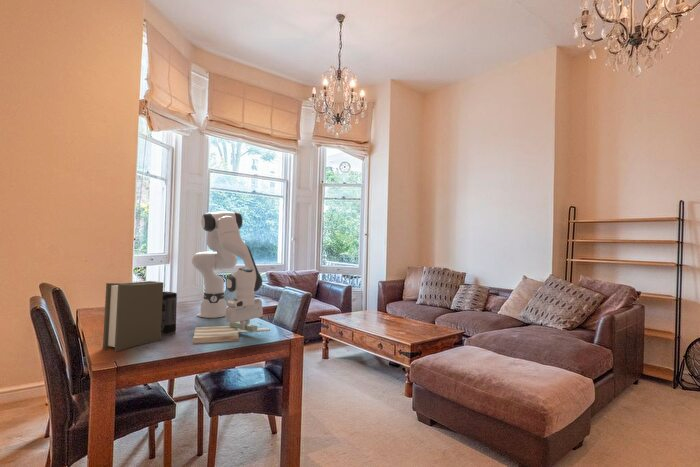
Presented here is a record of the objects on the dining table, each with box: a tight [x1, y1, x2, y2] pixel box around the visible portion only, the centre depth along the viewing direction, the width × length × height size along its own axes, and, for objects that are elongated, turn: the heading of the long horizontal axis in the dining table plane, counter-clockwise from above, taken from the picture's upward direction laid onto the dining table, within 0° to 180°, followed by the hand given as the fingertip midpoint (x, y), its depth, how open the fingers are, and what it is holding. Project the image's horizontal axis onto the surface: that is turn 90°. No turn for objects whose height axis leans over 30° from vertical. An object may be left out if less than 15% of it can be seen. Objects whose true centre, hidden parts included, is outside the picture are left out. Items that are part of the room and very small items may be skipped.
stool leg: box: [229, 321, 258, 333], centre depth 191 cm, size 18×3×3 cm, turn 53°
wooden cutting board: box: [192, 325, 271, 344], centre depth 188 cm, size 20×36×2 cm, turn 109°
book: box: [102, 280, 164, 353], centre depth 171 cm, size 22×9×28 cm, turn 154°
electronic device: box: [161, 291, 178, 336], centre depth 190 cm, size 9×6×20 cm, turn 62°
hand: (244, 329), depth 186 cm, fingers closed
